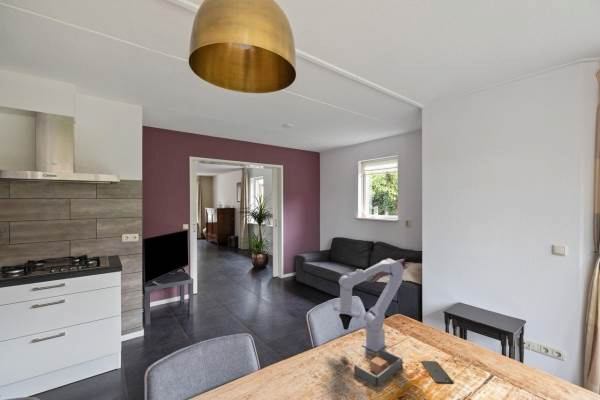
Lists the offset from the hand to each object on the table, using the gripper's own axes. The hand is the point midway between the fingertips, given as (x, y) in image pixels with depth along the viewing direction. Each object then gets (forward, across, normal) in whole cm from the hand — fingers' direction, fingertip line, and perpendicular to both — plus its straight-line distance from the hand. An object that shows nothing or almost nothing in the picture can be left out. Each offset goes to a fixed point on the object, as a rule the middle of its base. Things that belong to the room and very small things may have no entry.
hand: (346, 328), depth 131 cm
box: (+9, +20, -4) cm, 23 cm away
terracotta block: (+10, +20, -4) cm, 23 cm away
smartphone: (+10, +37, +13) cm, 41 cm away
